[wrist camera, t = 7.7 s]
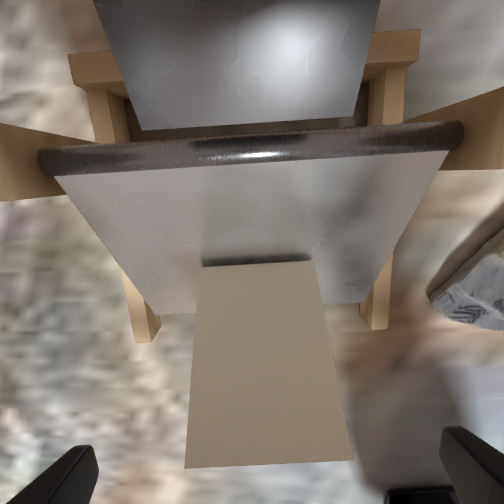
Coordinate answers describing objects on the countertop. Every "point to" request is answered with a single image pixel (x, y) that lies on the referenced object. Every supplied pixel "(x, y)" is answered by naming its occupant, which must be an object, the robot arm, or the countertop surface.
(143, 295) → the trapdoor
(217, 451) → the limestone block
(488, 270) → the fossil rock
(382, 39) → the stand
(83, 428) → the countertop surface
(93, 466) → the robot arm
